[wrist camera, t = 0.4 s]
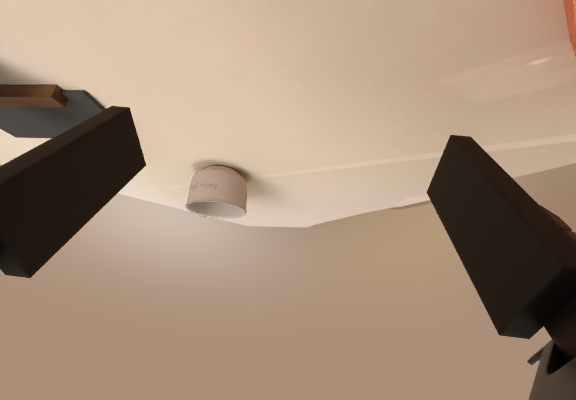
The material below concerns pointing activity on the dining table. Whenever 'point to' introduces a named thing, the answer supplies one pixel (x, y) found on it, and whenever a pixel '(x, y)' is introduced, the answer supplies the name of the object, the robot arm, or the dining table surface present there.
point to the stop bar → (32, 96)
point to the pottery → (571, 21)
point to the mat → (49, 116)
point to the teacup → (217, 193)
